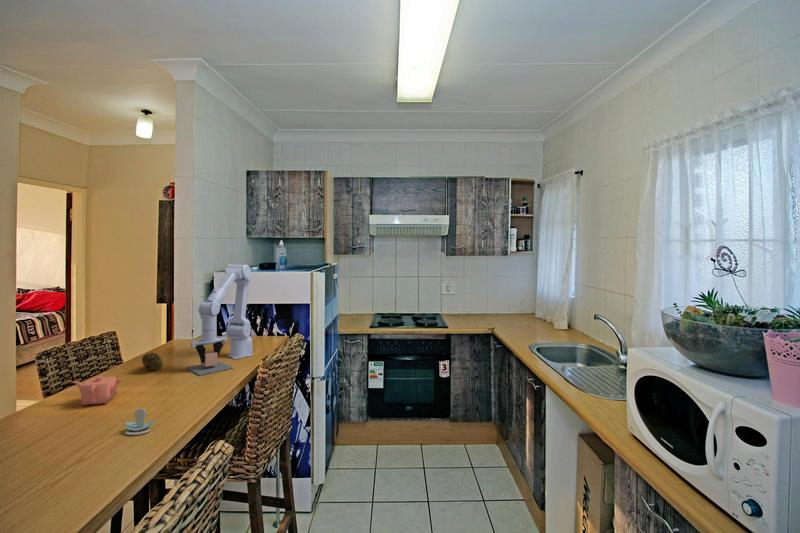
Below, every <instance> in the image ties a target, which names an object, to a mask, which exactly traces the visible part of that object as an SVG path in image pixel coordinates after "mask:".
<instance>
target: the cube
mask: <svg viewBox="0 0 800 533" xmlns="http://www.w3.org/2000/svg"><path fill="white" fill-rule="evenodd" d="M218 361H219V356H218V353H217V352H214V350H211V351H210V350H209V351H205V363H202V362H201V361H200V364H201V365H203V366H205V367H207V366H212V365H217V364H218Z"/></svg>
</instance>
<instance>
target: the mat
mask: <svg viewBox="0 0 800 533" xmlns="http://www.w3.org/2000/svg"><path fill="white" fill-rule="evenodd" d="M233 369H234V366H231V365H228V364H226V363H224V362H222V361H220V360H218V364H217V365H212V366H207V367H205V366H203V365H201V363H200V364H196V365H191V366H186V367H185V370H187V371H190V372H191V373H192V374H195V375H197V376H198V377H203V376H206V375H211V374H216V373H220V372H225V371H230V370H233Z"/></svg>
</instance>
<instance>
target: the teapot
mask: <svg viewBox="0 0 800 533" xmlns="http://www.w3.org/2000/svg"><path fill="white" fill-rule="evenodd" d="M124 379H125V378H123V377H122V378H118V379H117V376H114V375H113V376H101V375H100V376H96V377H91V378H90V379H88V380H87V381H85V382H84V383H82V382H80V381H72V383H74V384H76V385H77V387H78V389H79V393H80V402H81V404H80V405H81V406H91V405H101V404H102V403H104V404H108V403H109V402H110V401H111V400H112V399H113V398H114V397H115V396H116V395H117V390H118V389H119V386H120V383H121V382H122V380H124ZM125 380H126V379H125ZM90 404H91V405H90ZM102 405H103V404H102Z"/></svg>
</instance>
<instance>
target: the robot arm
mask: <svg viewBox="0 0 800 533" xmlns="http://www.w3.org/2000/svg"><path fill="white" fill-rule="evenodd" d="M251 274H252V269H251V268H250V265H249V264H232V263H229V264H227V265H226V266H225V269H224V275H223V278H222V279H221V281H220V283H219V286H218V287H215V288H212V291H211V293H210V294H209V295H208V297H207V299H206V300H205V301H203V302H201V303H200V305H199V307H198V314H199V315H200V319H201V339H200V340H195V341H191V342H190V347H191V348H195V350H196V351H197V354H198V356H199V359H200V363H201V362H202V363H205V352H206V349H207V348H206V347H205V346H209V345H212V347H213V351H214V352H217V353H218V357H219V356H220V353H221V351H222V348H223V346H224V343H227V342H228V339H230V350H229V352H230V354H229V353H228V354H227V355H226V357H228V358H231V359H233V360H236V359H242V358H246V357H252V356H254V354H253V340H252V338H251V336H250V334H251V330H252V329H251V321H250V320H248V318H246V315H247V314H246V313H247V304H248V294H249V287H250V286H249V285H250V282H251V277H252V276H251ZM234 282H235V284H236V292H235V301H234V310H233V317H232V318H230V319H229V320H228V322H227V323H228V324H227V327H226V329H225V333H226V335H227V336H228V337H226V336H222V337H217V336H218V335H217V332H218V331H217V327H218V326H217V321H218V320H217V319H218V318H217V315H218V314H219V313H220V310H221V304H222V303H223V301H224V299H225V298H226V296H227V292H226V291H227V290H228V288H230V286H231V285H232V283H234Z"/></svg>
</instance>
